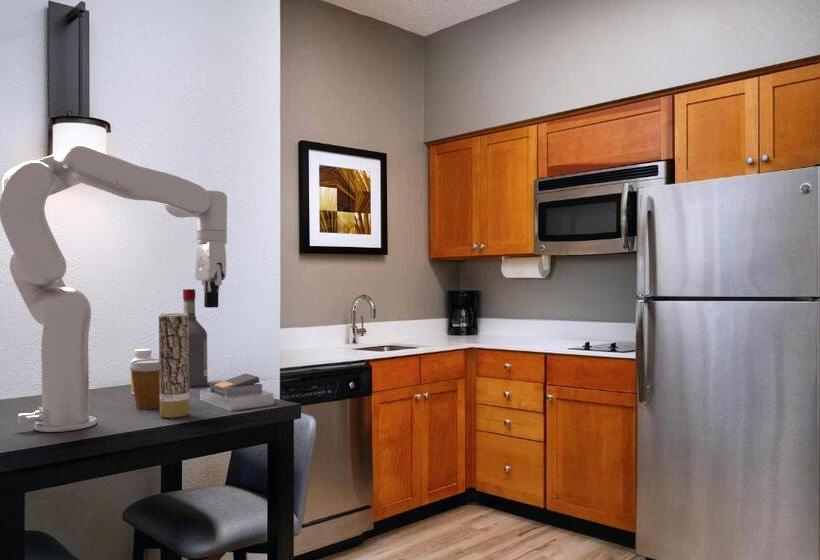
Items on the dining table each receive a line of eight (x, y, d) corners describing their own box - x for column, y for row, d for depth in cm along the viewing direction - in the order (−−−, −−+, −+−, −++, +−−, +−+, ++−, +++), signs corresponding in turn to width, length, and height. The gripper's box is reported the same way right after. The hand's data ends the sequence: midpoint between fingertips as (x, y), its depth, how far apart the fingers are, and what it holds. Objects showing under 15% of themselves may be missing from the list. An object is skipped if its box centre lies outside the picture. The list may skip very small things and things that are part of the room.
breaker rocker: (225, 394, 174) (223, 388, 174) (213, 390, 180) (211, 384, 180) (259, 382, 180) (258, 376, 180) (246, 378, 186) (245, 372, 186)
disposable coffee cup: (154, 402, 181) (154, 357, 181) (176, 405, 176) (175, 360, 176) (121, 407, 173) (121, 361, 173) (143, 412, 168) (142, 364, 168)
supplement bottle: (147, 391, 199) (146, 348, 199) (160, 393, 195) (160, 349, 195) (126, 394, 193) (125, 350, 193) (139, 396, 189) (139, 351, 189)
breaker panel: (230, 410, 169) (230, 391, 168) (200, 399, 184) (199, 381, 184) (273, 404, 176) (273, 385, 176) (240, 394, 192) (240, 377, 192)
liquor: (181, 388, 202) (180, 289, 202) (170, 385, 209) (169, 289, 209) (210, 385, 208) (209, 289, 208) (198, 381, 215) (197, 288, 215)
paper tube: (179, 419, 159) (178, 314, 158) (154, 418, 160) (153, 314, 160) (194, 413, 165) (193, 312, 165) (169, 412, 167) (168, 312, 167)
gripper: (187, 238, 180) (186, 306, 180) (209, 235, 169) (208, 308, 168) (214, 240, 185) (213, 306, 185) (237, 237, 173) (236, 308, 173)
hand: (211, 307), depth 177 cm, fingers closed
